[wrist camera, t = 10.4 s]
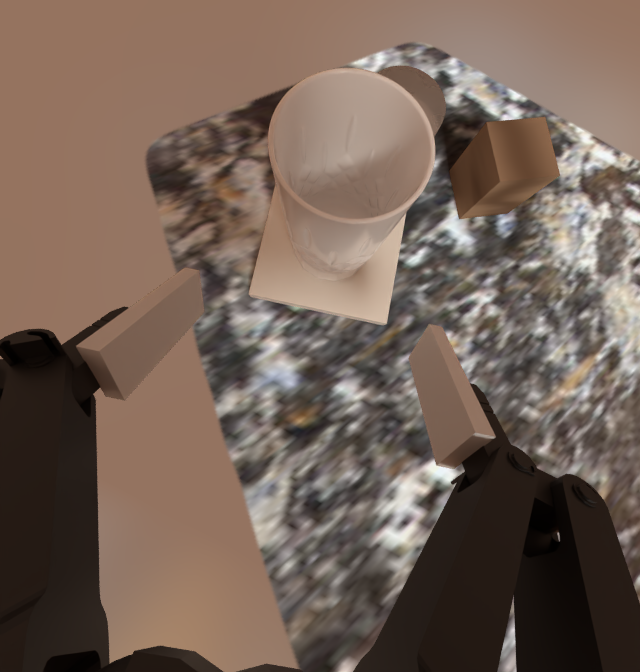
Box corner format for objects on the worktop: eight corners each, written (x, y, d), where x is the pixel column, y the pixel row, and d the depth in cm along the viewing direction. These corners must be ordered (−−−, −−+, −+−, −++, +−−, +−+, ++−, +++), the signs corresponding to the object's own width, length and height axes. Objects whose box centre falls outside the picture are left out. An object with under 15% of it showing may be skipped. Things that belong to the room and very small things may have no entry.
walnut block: (495, 167, 24) (545, 117, 19) (506, 213, 24) (560, 175, 19) (448, 171, 24) (486, 122, 19) (458, 219, 23) (500, 181, 18)
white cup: (268, 254, 21) (232, 158, 11) (318, 185, 22) (329, 37, 12) (344, 305, 21) (379, 256, 11) (392, 233, 22) (465, 126, 12)
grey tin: (415, 149, 24) (452, 79, 18) (402, 204, 23) (436, 151, 17) (356, 132, 23) (374, 55, 18) (342, 187, 23) (355, 127, 17)
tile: (404, 203, 23) (409, 196, 22) (382, 325, 22) (386, 323, 21) (281, 174, 23) (279, 166, 22) (251, 297, 21) (248, 294, 20)
